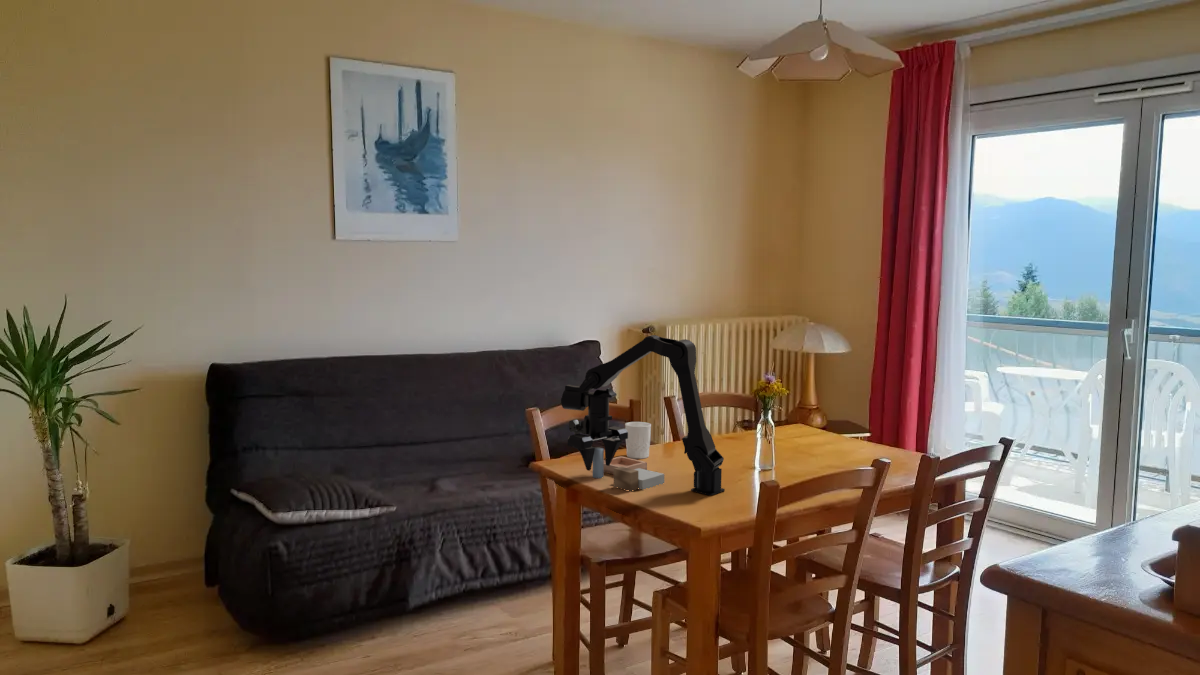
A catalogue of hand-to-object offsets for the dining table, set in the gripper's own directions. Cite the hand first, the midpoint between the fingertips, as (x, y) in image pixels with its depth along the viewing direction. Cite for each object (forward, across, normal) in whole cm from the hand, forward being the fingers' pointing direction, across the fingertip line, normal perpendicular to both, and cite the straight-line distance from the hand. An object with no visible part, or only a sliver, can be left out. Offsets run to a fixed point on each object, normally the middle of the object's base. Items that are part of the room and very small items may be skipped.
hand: (598, 467), depth 226 cm
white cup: (+3, -26, -8) cm, 27 cm away
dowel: (+3, 0, 0) cm, 3 cm away
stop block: (+3, +3, +13) cm, 14 cm away
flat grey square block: (+3, -3, +13) cm, 13 cm away
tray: (+3, -10, 0) cm, 10 cm away
